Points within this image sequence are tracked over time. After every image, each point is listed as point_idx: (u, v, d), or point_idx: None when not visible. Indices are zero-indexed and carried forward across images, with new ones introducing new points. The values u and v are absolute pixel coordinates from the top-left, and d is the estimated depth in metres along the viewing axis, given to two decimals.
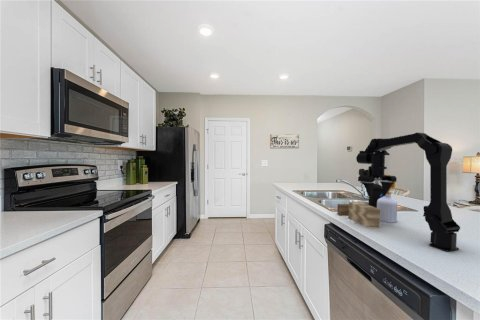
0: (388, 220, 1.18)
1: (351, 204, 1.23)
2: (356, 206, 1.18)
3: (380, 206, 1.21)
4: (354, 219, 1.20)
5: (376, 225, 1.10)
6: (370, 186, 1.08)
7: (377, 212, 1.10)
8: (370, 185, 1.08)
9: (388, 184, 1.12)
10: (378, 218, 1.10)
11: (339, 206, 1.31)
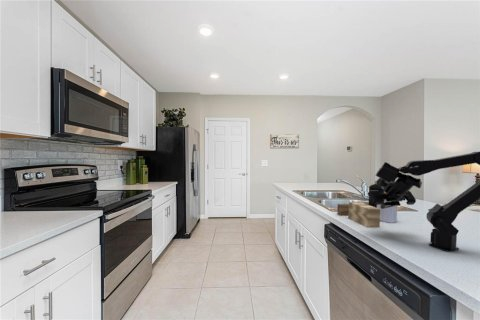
0: (388, 220, 1.18)
1: (351, 204, 1.23)
2: (356, 206, 1.18)
3: None
4: (354, 219, 1.20)
5: (376, 225, 1.10)
6: (385, 205, 1.00)
7: (377, 212, 1.10)
8: None
9: (392, 204, 0.99)
10: (378, 218, 1.10)
11: (339, 206, 1.31)
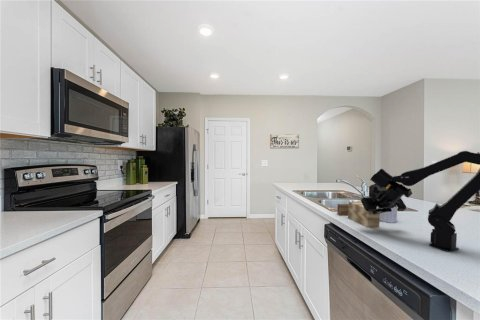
0: (388, 220, 1.18)
1: (351, 204, 1.23)
2: (356, 206, 1.18)
3: None
4: (354, 219, 1.20)
5: (375, 225, 1.10)
6: None
7: None
8: None
9: (383, 210, 1.04)
10: (378, 218, 1.10)
11: (339, 206, 1.31)
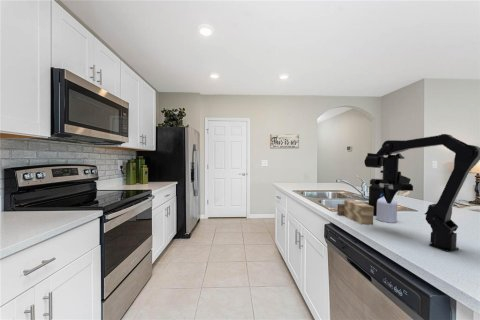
0: (388, 220, 1.18)
1: (346, 202, 1.28)
2: (351, 204, 1.23)
3: (380, 206, 1.21)
4: (349, 216, 1.25)
5: (369, 222, 1.15)
6: None
7: (371, 209, 1.15)
8: None
9: None
10: (372, 215, 1.15)
11: (339, 206, 1.31)
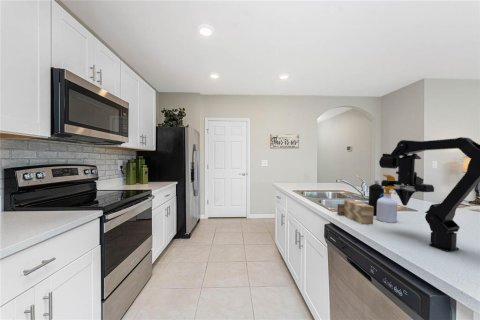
0: (388, 220, 1.18)
1: (346, 202, 1.27)
2: (351, 204, 1.23)
3: (380, 206, 1.21)
4: (349, 216, 1.25)
5: (369, 222, 1.15)
6: None
7: (371, 209, 1.15)
8: None
9: None
10: (372, 215, 1.15)
11: (339, 206, 1.31)
